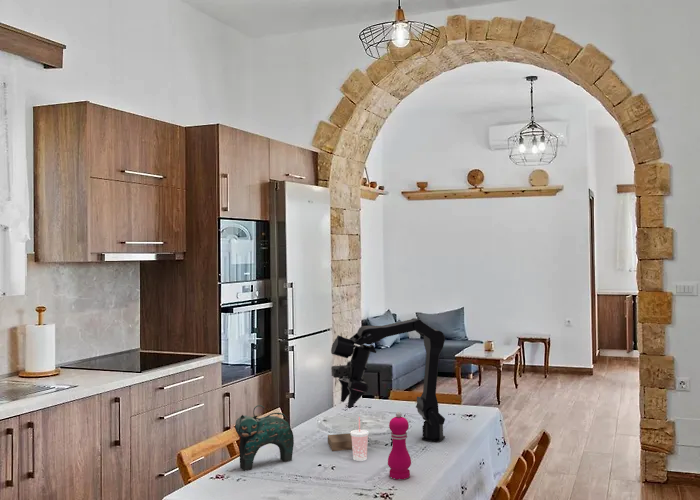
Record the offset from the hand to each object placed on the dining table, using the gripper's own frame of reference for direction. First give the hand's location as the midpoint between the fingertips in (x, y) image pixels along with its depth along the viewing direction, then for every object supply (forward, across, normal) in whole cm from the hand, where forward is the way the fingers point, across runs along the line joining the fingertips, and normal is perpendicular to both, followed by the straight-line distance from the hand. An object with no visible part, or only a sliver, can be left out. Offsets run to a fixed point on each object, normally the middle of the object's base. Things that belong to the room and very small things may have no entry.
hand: (345, 404), depth 253 cm
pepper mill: (+12, +33, +13) cm, 37 cm away
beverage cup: (+14, +13, +6) cm, 20 cm away
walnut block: (+15, -2, +4) cm, 15 cm away
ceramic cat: (+24, +9, -23) cm, 35 cm away
